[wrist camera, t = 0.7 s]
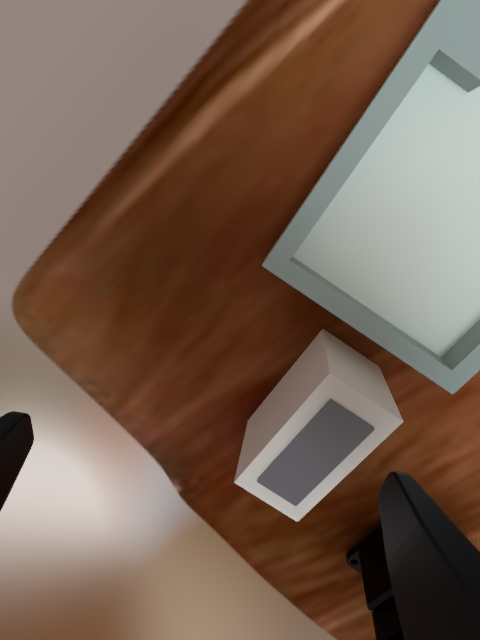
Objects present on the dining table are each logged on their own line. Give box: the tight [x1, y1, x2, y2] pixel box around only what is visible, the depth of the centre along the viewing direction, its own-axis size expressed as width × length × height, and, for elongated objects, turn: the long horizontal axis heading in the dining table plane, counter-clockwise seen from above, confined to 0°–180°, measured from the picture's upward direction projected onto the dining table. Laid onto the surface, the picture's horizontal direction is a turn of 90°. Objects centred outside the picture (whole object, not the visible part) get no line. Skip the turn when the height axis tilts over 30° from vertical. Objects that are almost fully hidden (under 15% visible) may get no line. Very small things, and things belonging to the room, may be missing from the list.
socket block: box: [234, 329, 403, 522], centre depth 20 cm, size 4×8×6 cm, turn 148°
